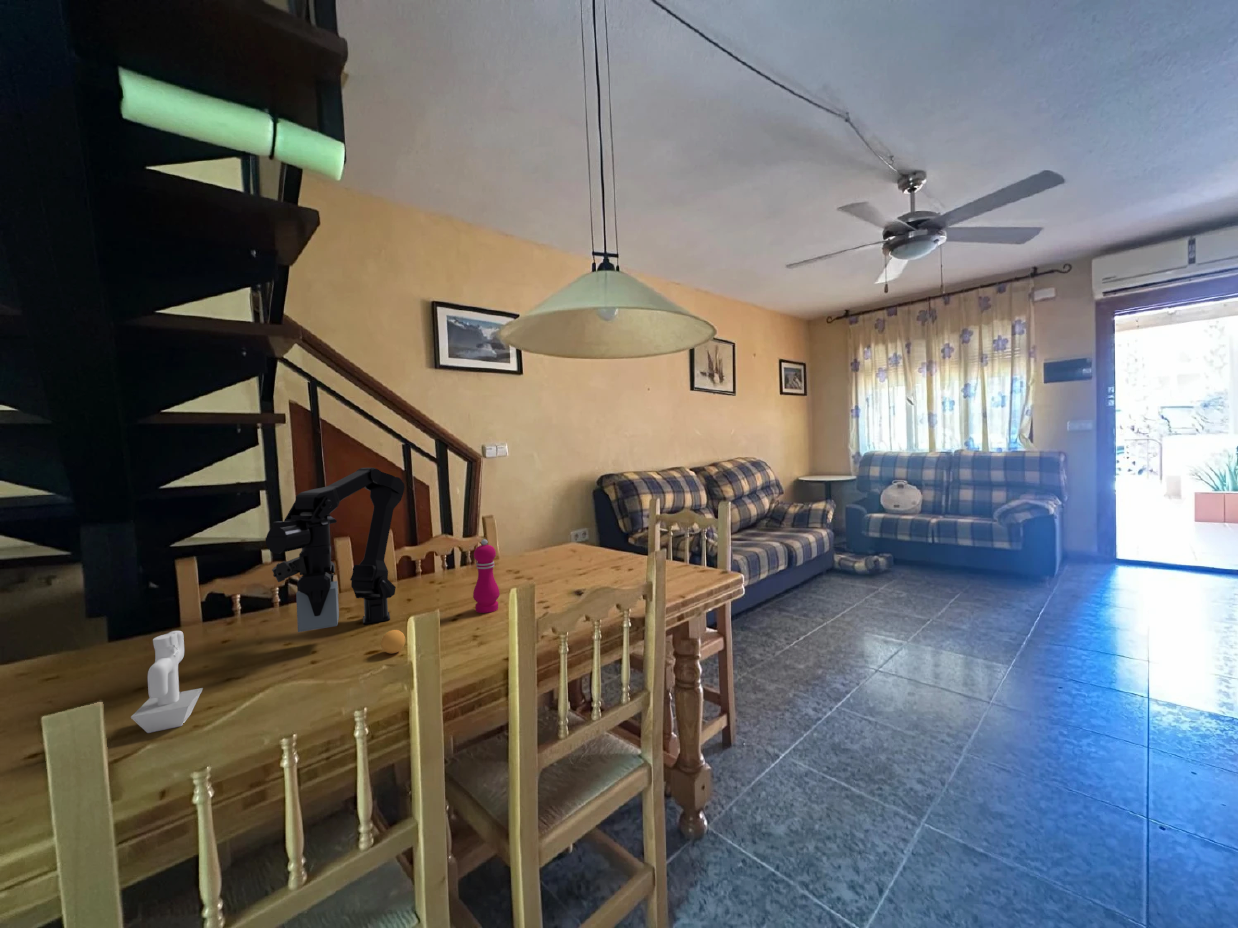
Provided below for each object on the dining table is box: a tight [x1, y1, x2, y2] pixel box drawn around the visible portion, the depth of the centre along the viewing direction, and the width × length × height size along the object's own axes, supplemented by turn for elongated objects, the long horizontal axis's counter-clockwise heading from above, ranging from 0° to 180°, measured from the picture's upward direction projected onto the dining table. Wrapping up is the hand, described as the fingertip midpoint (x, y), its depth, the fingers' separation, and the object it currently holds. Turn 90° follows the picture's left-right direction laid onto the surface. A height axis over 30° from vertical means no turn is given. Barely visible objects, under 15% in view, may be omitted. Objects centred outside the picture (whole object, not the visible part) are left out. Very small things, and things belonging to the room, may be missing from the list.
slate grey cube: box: [295, 580, 340, 633], centre depth 116 cm, size 8×8×9 cm
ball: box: [380, 629, 406, 654], centre depth 111 cm, size 5×5×5 cm
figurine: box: [130, 630, 204, 734], centre depth 83 cm, size 7×9×15 cm
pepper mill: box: [472, 538, 500, 614], centre depth 140 cm, size 7×7×20 cm
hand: (318, 611), depth 116 cm, fingers closed on slate grey cube, 8 cm apart
